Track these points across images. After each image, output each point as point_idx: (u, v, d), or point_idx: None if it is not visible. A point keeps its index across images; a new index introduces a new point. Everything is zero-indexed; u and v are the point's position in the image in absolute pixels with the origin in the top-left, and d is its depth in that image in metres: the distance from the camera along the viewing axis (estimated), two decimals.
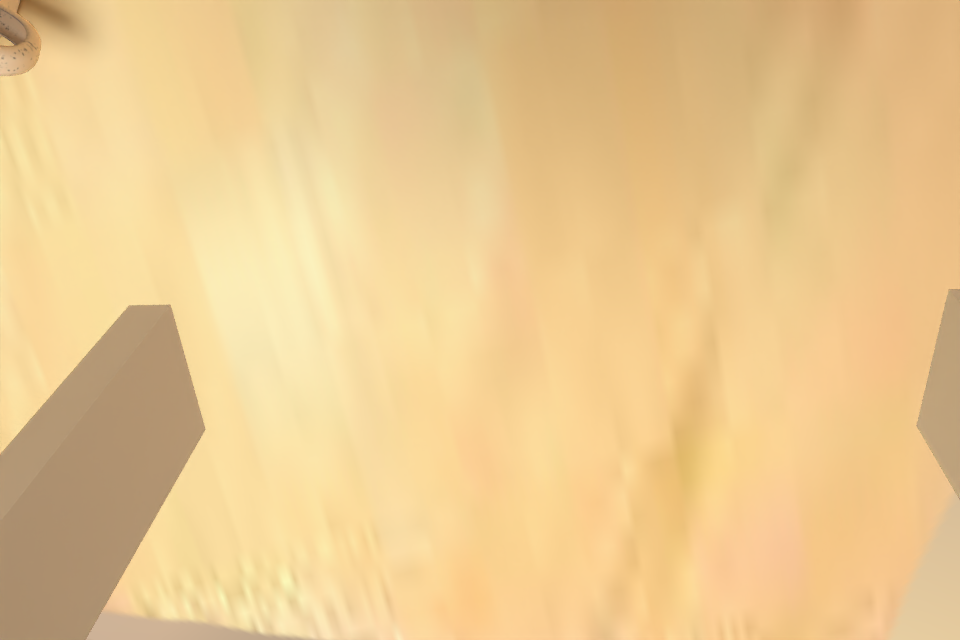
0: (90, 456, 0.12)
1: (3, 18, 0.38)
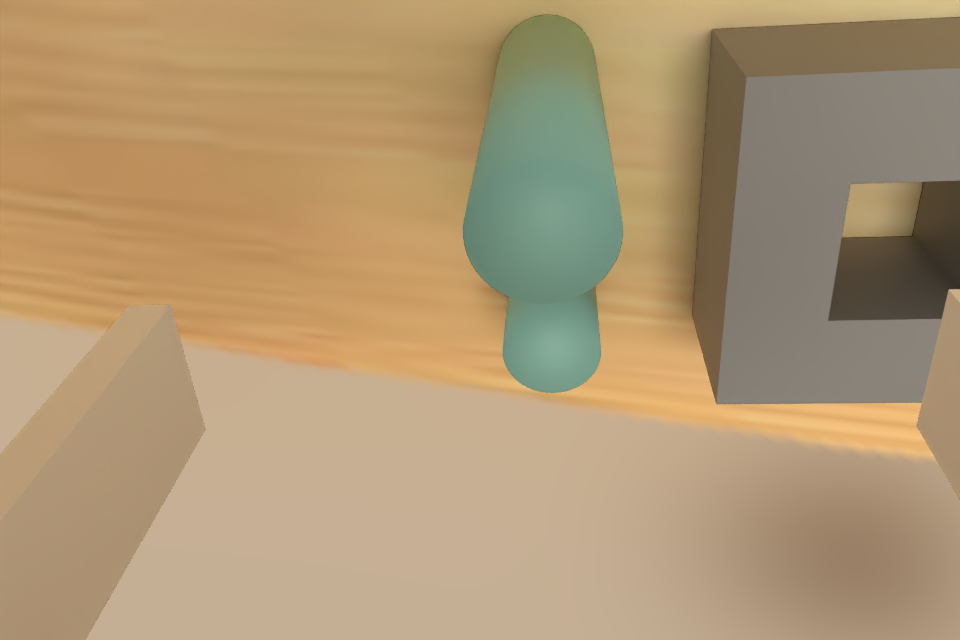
0: (89, 456, 0.12)
1: None
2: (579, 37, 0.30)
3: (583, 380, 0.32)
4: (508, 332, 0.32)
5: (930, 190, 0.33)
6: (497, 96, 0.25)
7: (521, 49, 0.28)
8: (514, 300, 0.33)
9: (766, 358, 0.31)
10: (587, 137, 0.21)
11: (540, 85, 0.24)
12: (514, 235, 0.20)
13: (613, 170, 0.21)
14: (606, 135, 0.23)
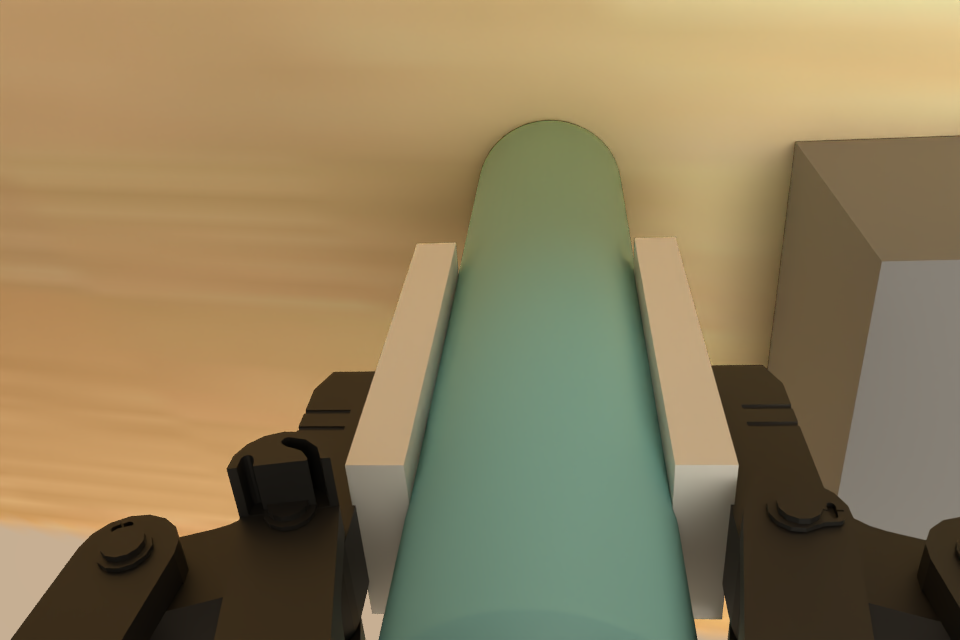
0: (437, 366, 0.14)
1: None
2: (599, 163, 0.19)
3: None
4: None
5: None
6: (463, 307, 0.14)
7: (508, 197, 0.17)
8: None
9: None
10: (628, 475, 0.10)
11: (536, 308, 0.13)
12: None
13: (676, 518, 0.11)
14: None
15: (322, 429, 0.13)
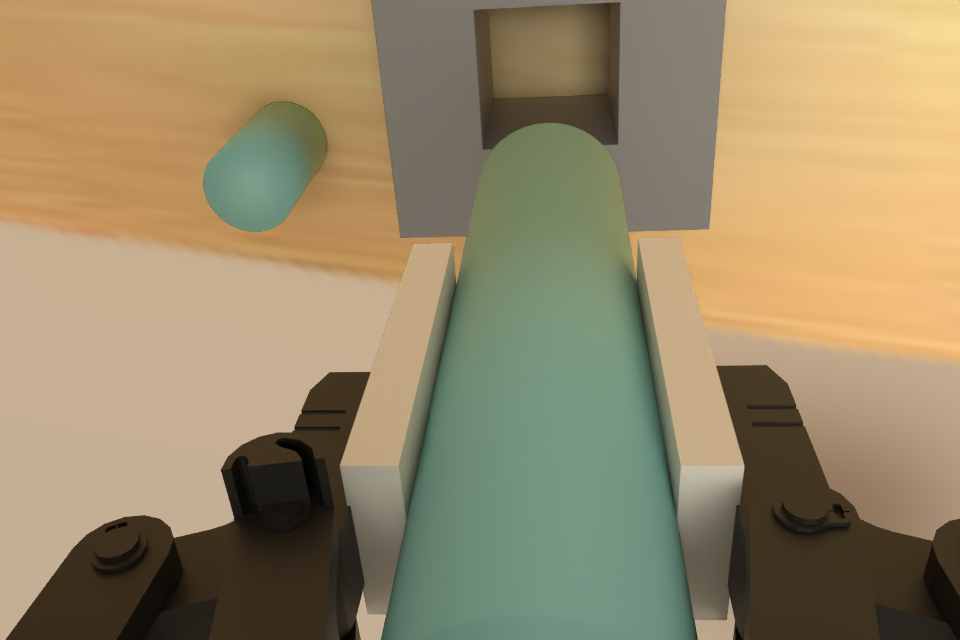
0: (433, 366, 0.14)
1: None
2: (598, 166, 0.19)
3: (282, 218, 0.35)
4: (205, 170, 0.34)
5: (610, 44, 0.35)
6: (462, 310, 0.14)
7: (507, 200, 0.17)
8: None
9: (436, 189, 0.33)
10: (628, 479, 0.10)
11: (536, 312, 0.13)
12: None
13: None
14: (656, 411, 0.13)
15: (317, 430, 0.13)
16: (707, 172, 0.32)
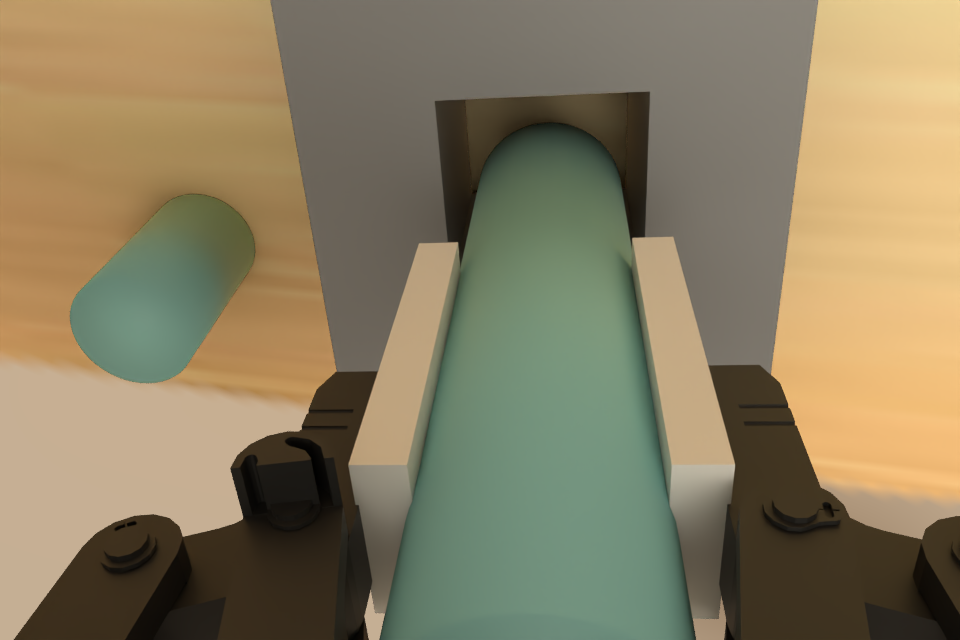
0: (439, 366, 0.14)
1: None
2: (599, 165, 0.20)
3: (181, 367, 0.25)
4: (72, 305, 0.25)
5: (628, 127, 0.26)
6: (463, 310, 0.14)
7: (508, 200, 0.17)
8: None
9: (388, 337, 0.24)
10: (627, 479, 0.10)
11: (535, 312, 0.13)
12: None
13: None
14: None
15: (325, 429, 0.13)
16: (769, 320, 0.23)
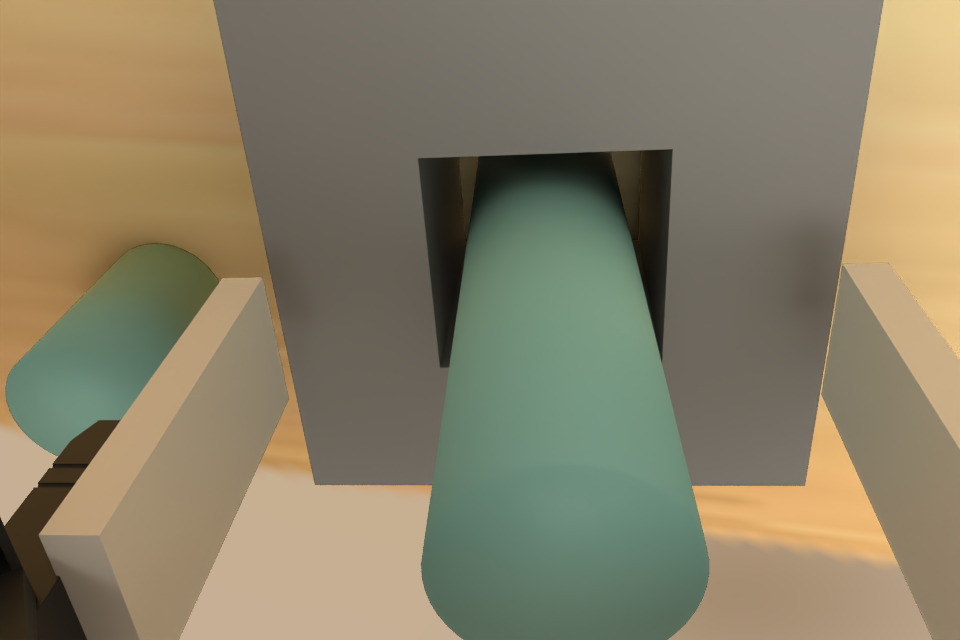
0: (204, 415, 0.13)
1: None
2: None
3: None
4: (8, 380, 0.22)
5: (642, 175, 0.23)
6: (478, 253, 0.16)
7: (511, 162, 0.19)
8: None
9: (367, 421, 0.21)
10: (634, 374, 0.12)
11: (546, 249, 0.15)
12: (513, 576, 0.11)
13: (674, 416, 0.13)
14: (653, 332, 0.15)
15: (61, 486, 0.12)
16: (807, 407, 0.20)
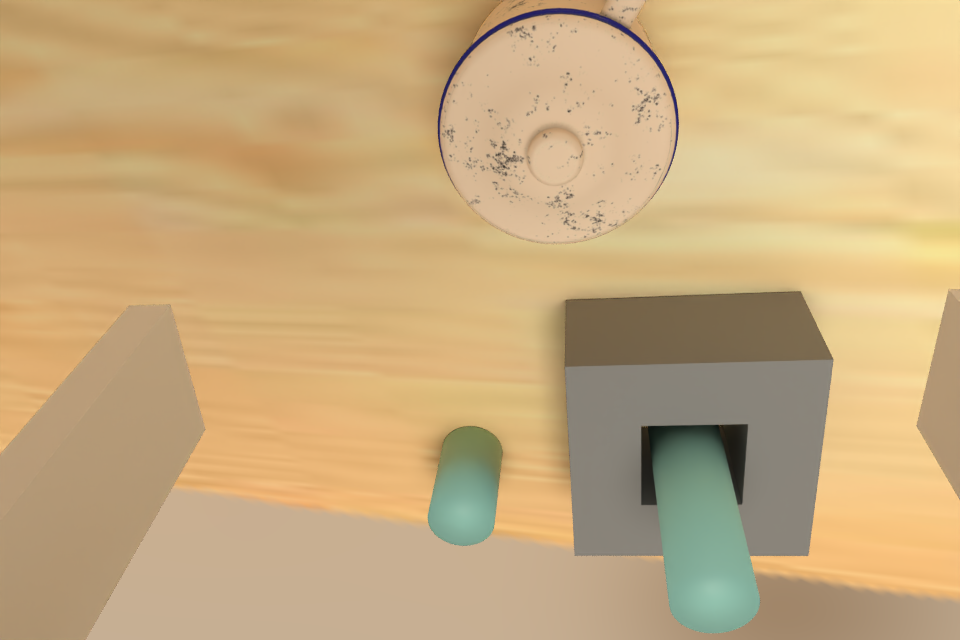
0: (89, 456, 0.12)
1: None
2: None
3: (484, 538, 0.47)
4: (430, 508, 0.46)
5: None
6: (665, 470, 0.41)
7: None
8: (437, 480, 0.48)
9: (604, 527, 0.45)
10: (734, 535, 0.36)
11: (696, 476, 0.39)
12: (698, 603, 0.35)
13: (747, 547, 0.37)
14: (738, 509, 0.39)
15: None
16: (808, 522, 0.43)
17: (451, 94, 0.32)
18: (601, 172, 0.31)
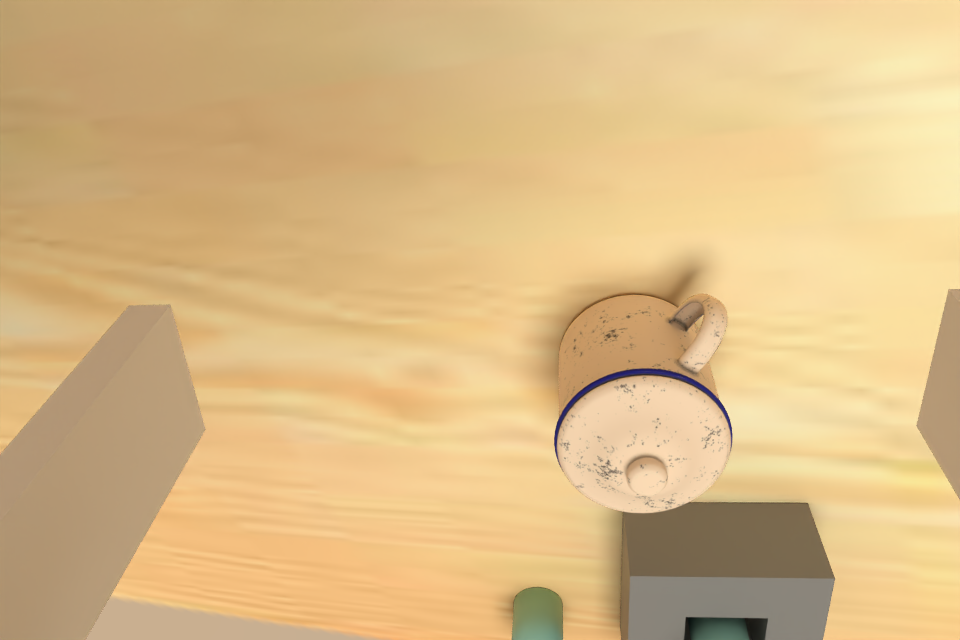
0: (90, 456, 0.12)
1: (682, 317, 0.48)
2: None
3: None
4: None
5: None
6: None
7: None
8: (516, 638, 0.60)
9: None
10: None
11: None
12: None
13: None
14: None
15: None
16: None
17: (569, 421, 0.44)
18: (677, 481, 0.43)
